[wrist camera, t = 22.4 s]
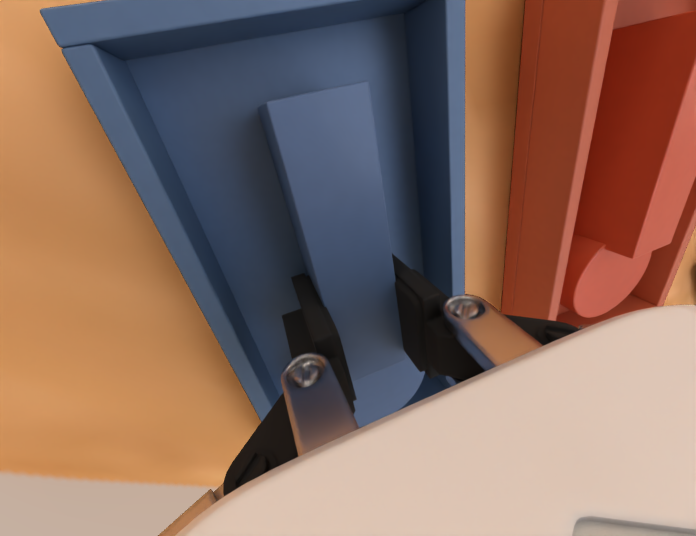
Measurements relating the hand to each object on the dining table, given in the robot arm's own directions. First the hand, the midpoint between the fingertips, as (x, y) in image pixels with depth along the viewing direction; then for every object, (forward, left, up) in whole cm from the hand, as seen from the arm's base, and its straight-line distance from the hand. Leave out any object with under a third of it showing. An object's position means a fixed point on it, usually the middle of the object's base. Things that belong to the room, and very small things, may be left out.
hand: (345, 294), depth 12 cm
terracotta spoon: (-1, +14, -1) cm, 14 cm away
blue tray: (-1, 0, -2) cm, 2 cm away
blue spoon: (-1, 0, -1) cm, 1 cm away
